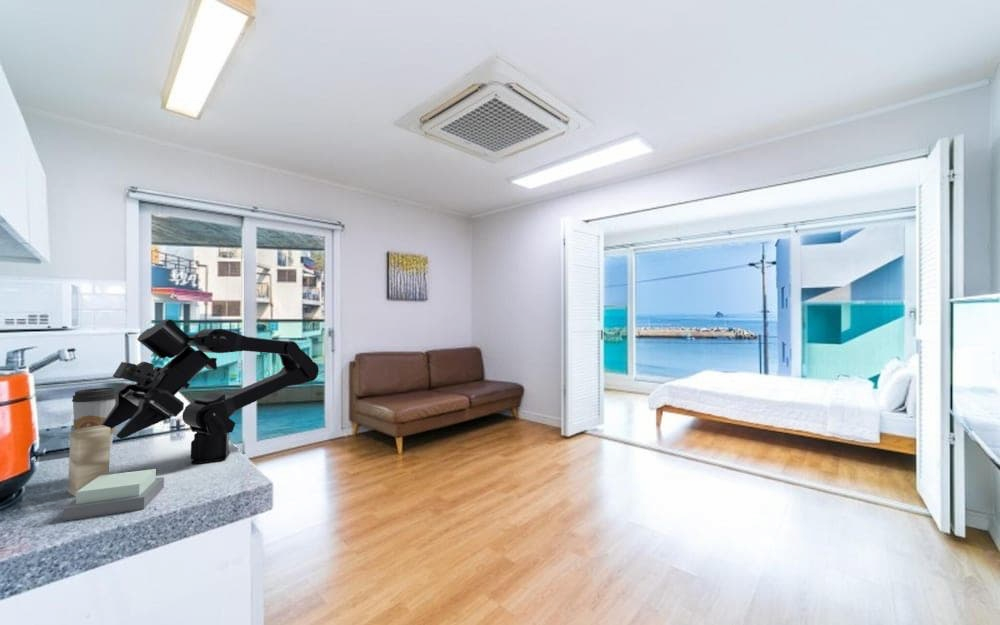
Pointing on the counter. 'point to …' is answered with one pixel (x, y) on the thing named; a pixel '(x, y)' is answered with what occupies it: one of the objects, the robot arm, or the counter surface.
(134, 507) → the tower base
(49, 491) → the counter surface
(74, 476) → the pillar
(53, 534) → the counter surface
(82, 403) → the coffee cup
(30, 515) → the counter surface
